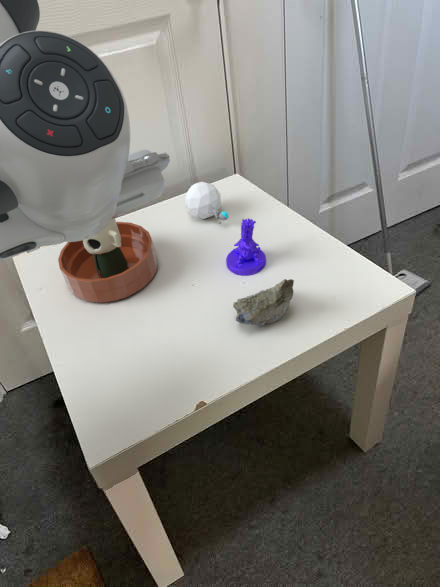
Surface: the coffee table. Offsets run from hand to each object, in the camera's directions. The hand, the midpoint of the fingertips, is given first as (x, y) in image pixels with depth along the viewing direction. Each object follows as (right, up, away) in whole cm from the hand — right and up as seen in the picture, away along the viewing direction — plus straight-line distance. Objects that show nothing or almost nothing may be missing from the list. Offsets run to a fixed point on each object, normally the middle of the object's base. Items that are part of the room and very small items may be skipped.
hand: (70, 228), depth 53 cm
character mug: (-4, -3, +40) cm, 40 cm away
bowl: (-4, -3, +40) cm, 41 cm away
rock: (+25, -11, +28) cm, 39 cm away
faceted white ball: (+15, +9, +50) cm, 53 cm away
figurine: (+22, -1, +38) cm, 44 cm away
